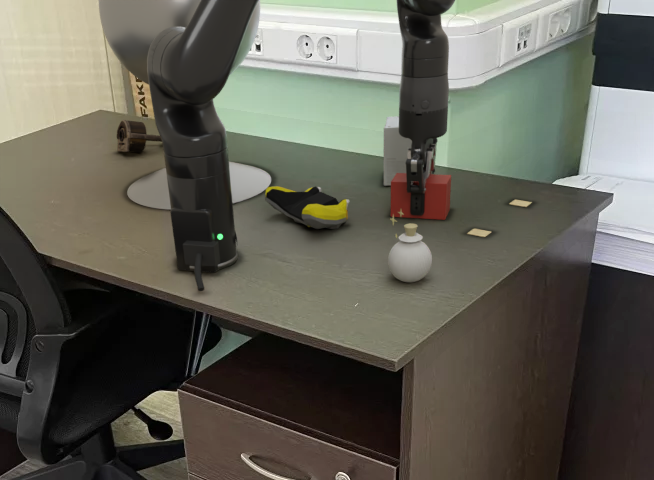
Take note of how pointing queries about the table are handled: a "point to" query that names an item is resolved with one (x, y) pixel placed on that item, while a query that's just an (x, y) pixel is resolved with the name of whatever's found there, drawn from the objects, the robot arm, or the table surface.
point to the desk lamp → (132, 51)
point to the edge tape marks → (484, 233)
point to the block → (434, 197)
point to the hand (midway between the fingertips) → (420, 208)
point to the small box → (394, 150)
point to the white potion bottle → (409, 255)
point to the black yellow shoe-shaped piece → (309, 206)
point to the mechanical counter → (133, 136)
